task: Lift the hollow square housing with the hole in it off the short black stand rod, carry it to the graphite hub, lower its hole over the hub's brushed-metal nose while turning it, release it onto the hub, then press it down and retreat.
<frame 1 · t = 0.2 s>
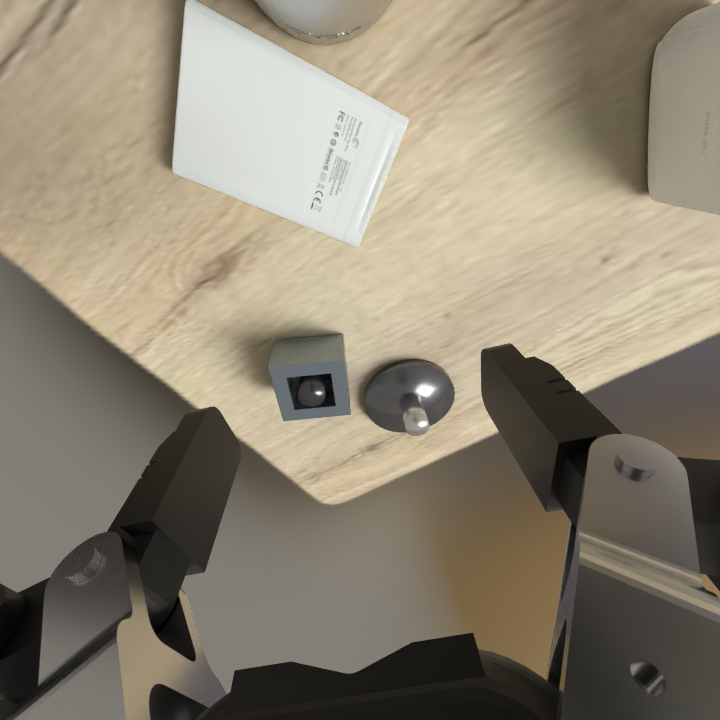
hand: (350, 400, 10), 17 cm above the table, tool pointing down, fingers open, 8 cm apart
stand rod: (314, 364, 30), on the table
hub: (408, 395, 33), on the table
external hard drive: (291, 145, 21), on the table
hollow square housing: (314, 364, 30), on the table
photo printer: (673, 115, 21), on the table
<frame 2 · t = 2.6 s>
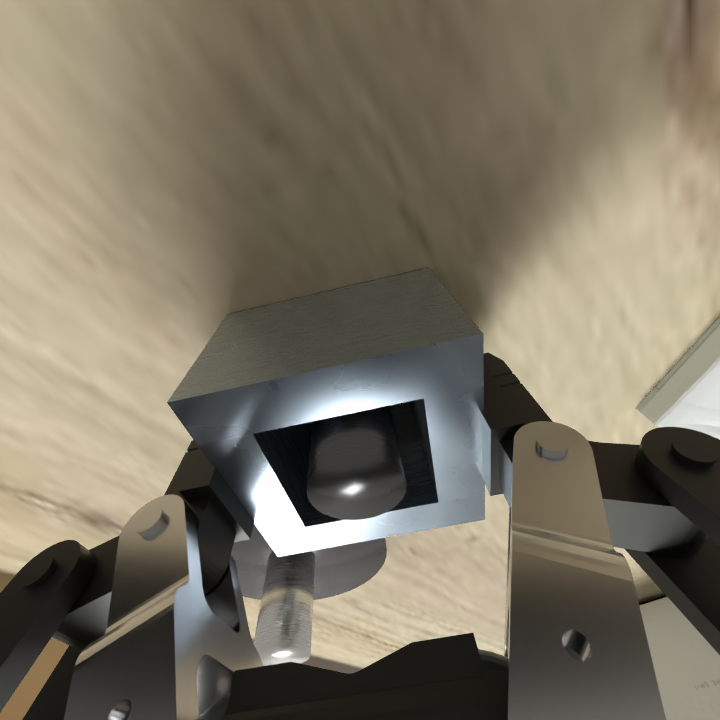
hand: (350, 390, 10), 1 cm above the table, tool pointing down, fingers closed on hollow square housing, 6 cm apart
stand rod: (349, 374, 11), on the table
hub: (294, 538, 16), on the table
hollow square housing: (349, 374, 11), on the table, touching gripper
photo printer: (653, 600, 24), on the table
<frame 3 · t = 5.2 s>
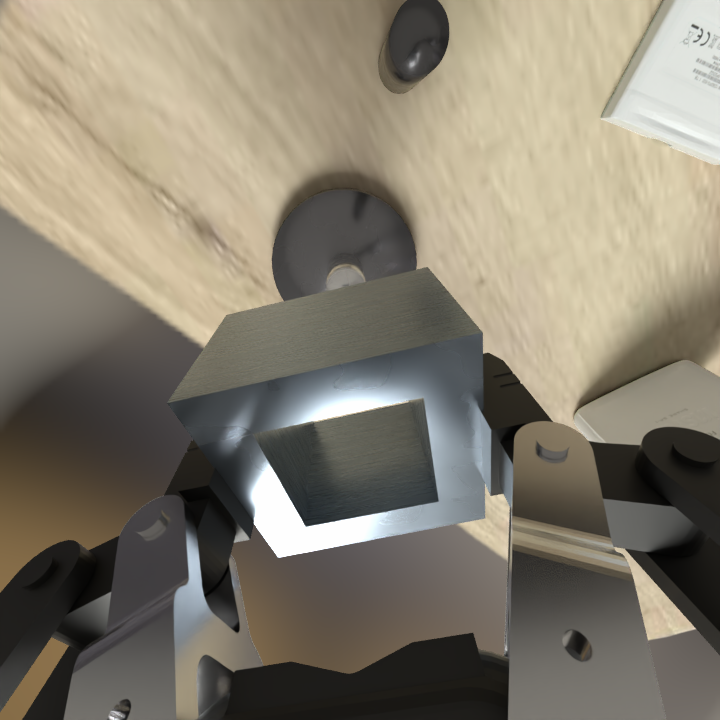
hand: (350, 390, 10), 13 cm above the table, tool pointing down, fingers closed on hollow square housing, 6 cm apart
stand rod: (400, 64, 16), on the table
hub: (345, 265, 21), on the table
hollow square housing: (349, 373, 11), point 12 cm above the table, touching gripper
photo printer: (628, 393, 29), on the table
when the fingers open (3 cm above the table, at t = 7.3 s): hollow square housing stays where it is, resting on hub.
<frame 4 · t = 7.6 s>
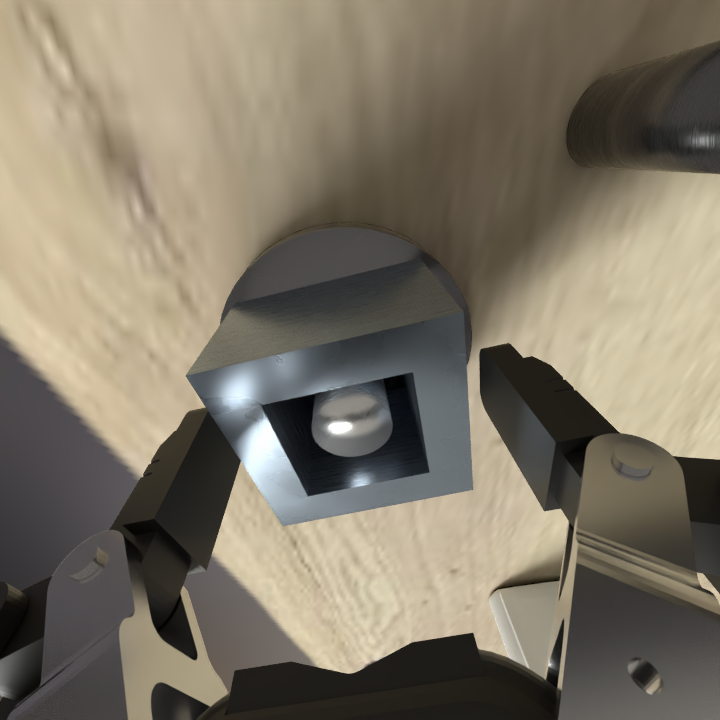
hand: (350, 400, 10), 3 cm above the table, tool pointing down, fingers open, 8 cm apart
stand rod: (606, 122, 9), on the table
hub: (347, 346, 13), on the table
hollow square housing: (348, 359, 12), point 1 cm above the table, touching hub
photo printer: (550, 584, 26), on the table
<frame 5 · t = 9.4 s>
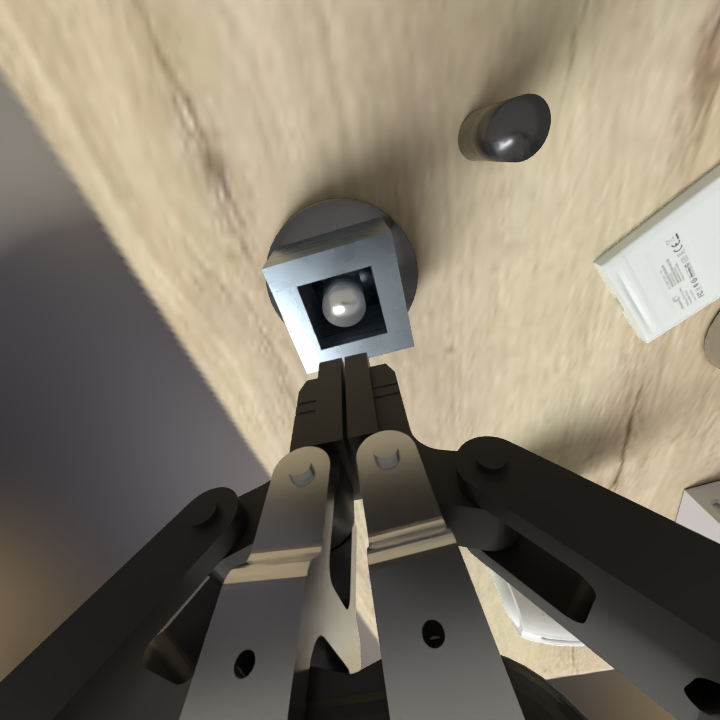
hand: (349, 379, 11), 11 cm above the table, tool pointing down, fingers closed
stand rod: (479, 135, 16), on the table
hub: (342, 278, 20), on the table
external hard drive: (703, 231, 21), on the table
hollow square housing: (343, 283, 19), point 1 cm above the table, touching hub
photo printer: (510, 486, 33), on the table
game console: (689, 539, 42), on the table
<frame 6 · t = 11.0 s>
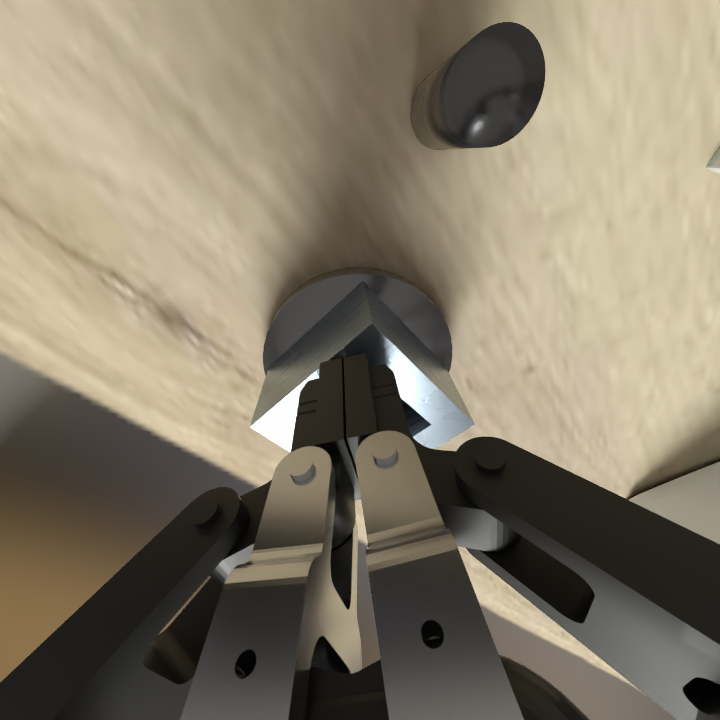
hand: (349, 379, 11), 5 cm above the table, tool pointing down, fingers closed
stand rod: (442, 111, 11), on the table
hub: (357, 356, 16), on the table
hollow square housing: (359, 366, 15), point 1 cm above the table, touching hub
photo printer: (691, 478, 24), on the table
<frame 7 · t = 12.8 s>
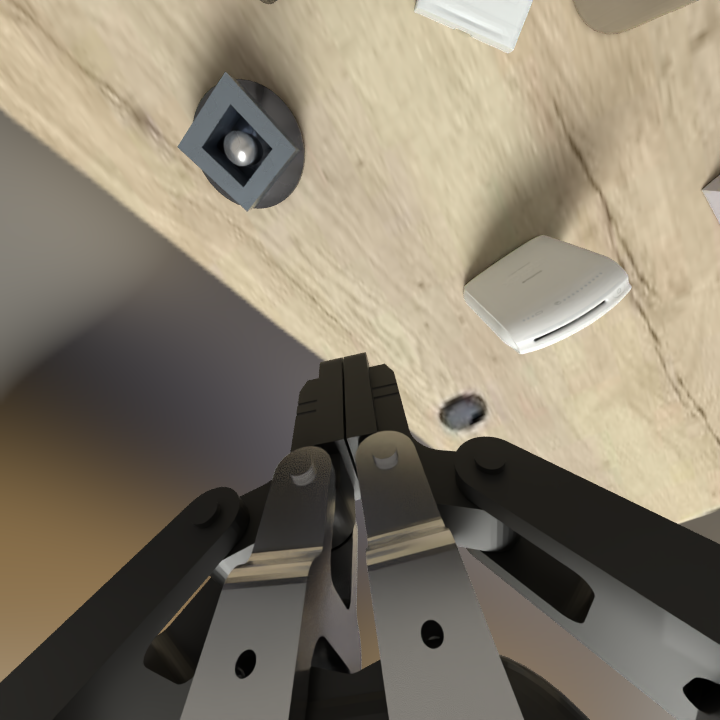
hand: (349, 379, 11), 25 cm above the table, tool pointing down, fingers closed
hub: (252, 149, 28), on the table
hollow square housing: (249, 149, 27), point 1 cm above the table, touching hub
photo printer: (505, 272, 35), on the table
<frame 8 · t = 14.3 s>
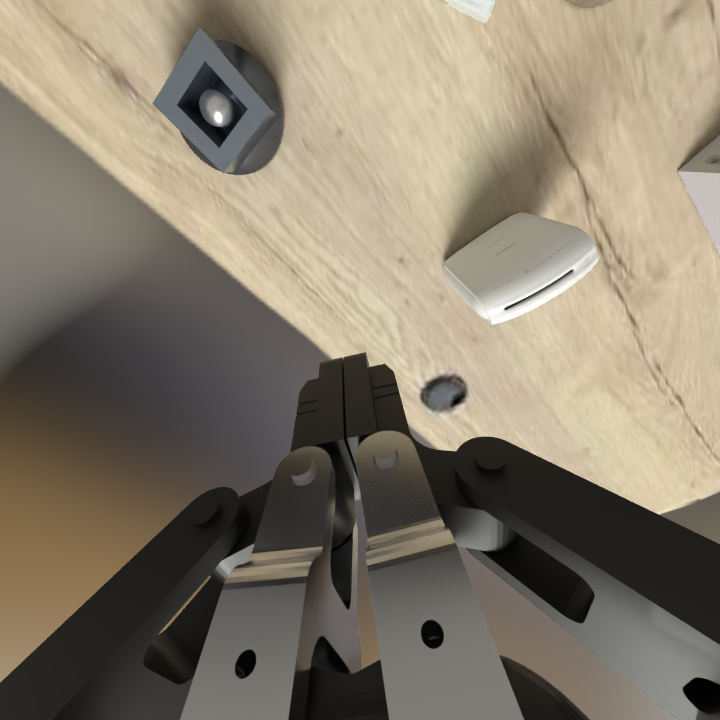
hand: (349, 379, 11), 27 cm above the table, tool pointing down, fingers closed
hub: (231, 114, 28), on the table
hollow square housing: (227, 113, 27), point 1 cm above the table, touching hub
photo printer: (484, 250, 36), on the table
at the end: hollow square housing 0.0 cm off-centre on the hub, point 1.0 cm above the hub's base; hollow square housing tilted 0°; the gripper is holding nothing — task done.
